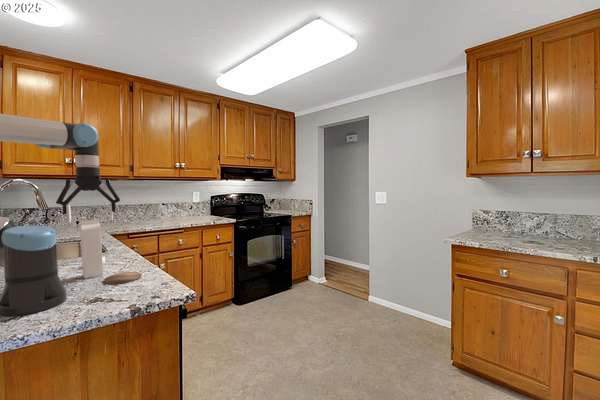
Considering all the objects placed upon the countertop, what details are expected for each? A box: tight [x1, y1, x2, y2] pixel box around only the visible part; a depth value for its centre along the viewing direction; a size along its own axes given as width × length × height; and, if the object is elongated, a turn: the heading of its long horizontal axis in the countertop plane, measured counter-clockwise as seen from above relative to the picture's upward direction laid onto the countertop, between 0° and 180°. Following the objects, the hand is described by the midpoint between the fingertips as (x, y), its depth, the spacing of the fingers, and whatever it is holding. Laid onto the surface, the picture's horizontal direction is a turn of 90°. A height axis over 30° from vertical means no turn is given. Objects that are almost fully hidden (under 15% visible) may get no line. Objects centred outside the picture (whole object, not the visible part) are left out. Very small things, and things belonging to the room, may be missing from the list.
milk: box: [80, 219, 104, 279], centre depth 114 cm, size 6×6×22 cm
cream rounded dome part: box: [102, 255, 106, 267], centre depth 128 cm, size 7×7×4 cm
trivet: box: [104, 271, 142, 285], centre depth 110 cm, size 12×12×1 cm
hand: (90, 221), depth 114 cm, fingers open, 13 cm apart
